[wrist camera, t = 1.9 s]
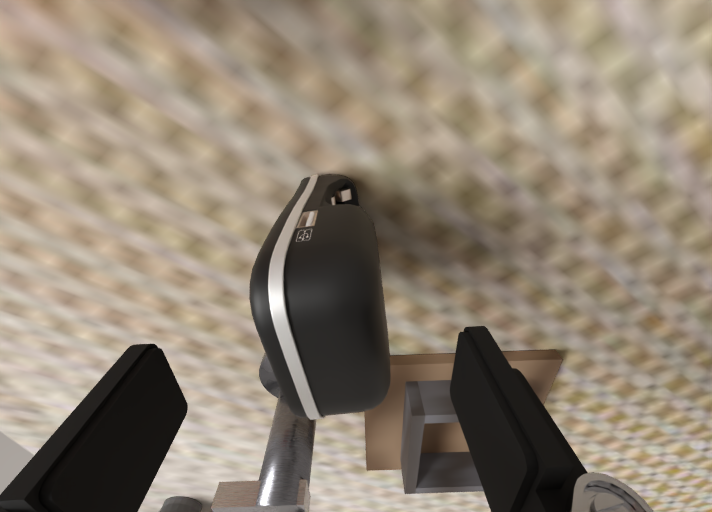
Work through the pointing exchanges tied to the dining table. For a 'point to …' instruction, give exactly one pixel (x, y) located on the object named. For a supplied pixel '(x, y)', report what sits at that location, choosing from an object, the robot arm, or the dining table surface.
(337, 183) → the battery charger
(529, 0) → the dining table surface
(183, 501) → the beverage cup
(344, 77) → the dining table surface
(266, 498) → the post
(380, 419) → the holder
